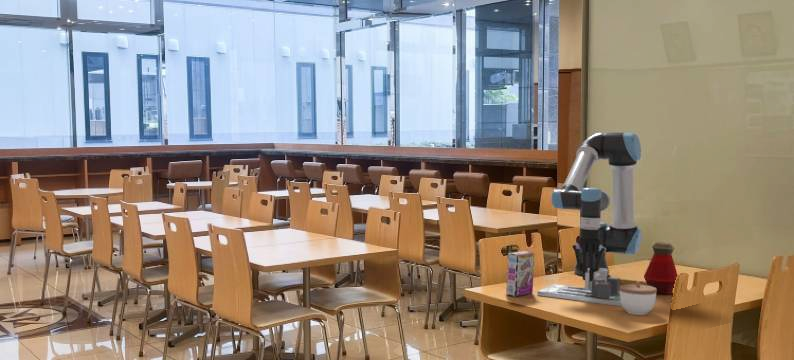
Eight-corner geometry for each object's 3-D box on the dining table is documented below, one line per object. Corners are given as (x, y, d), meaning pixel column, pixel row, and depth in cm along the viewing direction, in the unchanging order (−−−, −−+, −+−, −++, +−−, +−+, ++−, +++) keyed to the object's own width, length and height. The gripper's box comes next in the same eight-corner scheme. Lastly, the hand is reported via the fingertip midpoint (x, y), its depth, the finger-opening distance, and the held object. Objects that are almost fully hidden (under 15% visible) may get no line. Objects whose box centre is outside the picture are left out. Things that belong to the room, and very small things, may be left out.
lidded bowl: (634, 318, 267) (636, 286, 267) (610, 310, 279) (612, 279, 278) (663, 315, 272) (664, 284, 272) (638, 307, 284) (640, 277, 283)
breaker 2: (599, 295, 295) (600, 281, 294) (610, 296, 292) (611, 282, 292) (596, 297, 292) (597, 282, 291) (607, 298, 289) (608, 284, 289)
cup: (608, 292, 312) (608, 272, 311) (587, 291, 313) (588, 271, 313) (606, 287, 322) (607, 268, 322) (586, 286, 324) (587, 267, 323)
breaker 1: (594, 291, 302) (594, 277, 302) (604, 293, 300) (605, 279, 299) (591, 293, 299) (591, 279, 298) (601, 294, 297) (602, 280, 296)
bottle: (646, 287, 323) (648, 239, 322) (680, 291, 317) (682, 242, 316) (640, 294, 309) (641, 243, 308) (676, 297, 303) (678, 246, 302)
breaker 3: (609, 290, 305) (609, 276, 304) (619, 291, 303) (620, 278, 302) (606, 292, 302) (607, 278, 301) (616, 293, 300) (617, 279, 299)
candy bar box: (516, 297, 298) (517, 254, 297) (505, 295, 301) (507, 253, 300) (533, 293, 305) (534, 252, 304) (523, 291, 309) (524, 250, 308)
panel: (553, 288, 318) (554, 283, 318) (638, 298, 300) (638, 294, 300) (537, 295, 303) (537, 290, 303) (625, 306, 285) (625, 302, 285)
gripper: (570, 227, 300) (568, 288, 302) (603, 230, 293) (601, 292, 295) (576, 226, 306) (574, 285, 308) (609, 228, 300) (607, 289, 301)
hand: (587, 289), depth 301 cm, fingers closed
